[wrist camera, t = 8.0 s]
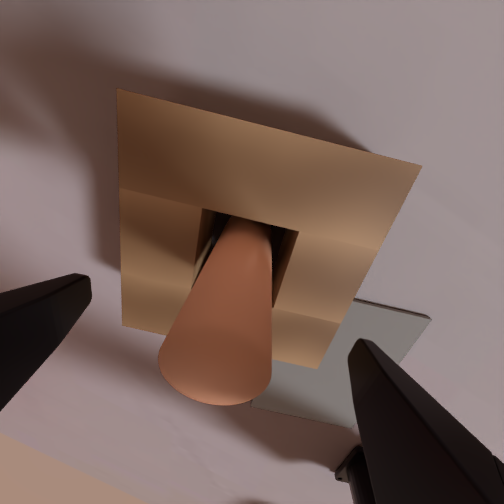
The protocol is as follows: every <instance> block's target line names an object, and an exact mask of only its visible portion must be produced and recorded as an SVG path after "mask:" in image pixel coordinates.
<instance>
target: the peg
mask: <svg viewBox="0 0 504 504" xmlns="http://www.w3.org/2000/svg"><path fill="white" fill-rule="evenodd" d="M158 364H159V368H160V370H161V373H162V375H163V376H164V378H165V379H166V380H167V382H168V383H169V384H170V385H171V386H172V387H173V388H175V389H176V390H177V391H179V392H180V393H182V394H183V395H185V396H187V397H189V398H191V399H194V400H196V401H199V402H203V403H207V404H213V405H235V404H240V403H244V402H247V401H250V400H252V399H254V398H256V397H257V396H259V395H260V394H261V393H262V392H263V391H264V390H265V389H266V388H267V386H268V384H269V383H270V380H271V375H272V231H271V226H270V224H267V223H263V222H258V221H254V220H250V219H246V218H242V217H238V216H234V215H233V216H232V217H231V218H230V219H229V220H228V222H227V224H226V226H225V228H224V230H223V231H222V233H221V235H220V237H219V239H218V241H217V243H216V245H215V246H214V248H213V250H212V252H211V254H210V256H209V258H208V260H207V261H206V263H205V265H204V267H203V269H202V271H201V273H200V275H199V276H198V278H197V280H196V282H195V284H194V286H193V288H192V290H191V291H190V293H189V295H188V297H187V299H186V301H185V303H184V305H183V306H182V308H181V310H180V312H179V314H178V316H177V318H176V320H175V321H174V323H173V325H172V327H171V329H170V331H169V333H168V335H167V336H166V338H165V340H164V342H163V344H162V346H161V348H160V350H159V355H158Z"/></svg>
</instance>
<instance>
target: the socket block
mask: <svg viewBox="0 0 504 504" xmlns="http://www.w3.org/2000/svg"><path fill="white" fill-rule="evenodd" d="M116 90H117V131H118V172H119V213H120V254H121V295H122V326H126V327H131V328H135V329H140V330H144V331H149V332H153V333H158V334H162V335H168V333H169V331H170V329H171V327H172V325H173V323H174V321H175V320H176V318H177V316H178V314H179V312H180V310H181V308H182V306H183V305H184V303H185V301H186V299H187V297H188V295H189V293H190V291H191V290H192V288H193V286H194V284H195V282H196V280H197V278H198V276H199V275H200V273H201V271H202V269H203V267H204V265H205V263H206V261H207V260H208V258H209V253H210V247H211V241H212V234H213V228H214V222H215V216H216V211H217V212H221V213H225V214H229V215H234V216H238V217H242V218H246V219H250V220H254V221H258V222H263V223H267V224H271V225H275V226H279V227H283V228H286V230H285V234H284V237H283V240H282V243H281V246H280V250H279V253H278V256H277V259H276V263H275V266H274V269H273V271H272V359H274V360H278V361H283V362H287V363H291V364H296V365H300V366H305V367H309V368H314V369H318V367H319V365H320V363H321V361H322V359H323V357H324V355H325V353H326V351H327V349H328V347H329V345H330V343H331V342H332V340H333V338H334V336H335V334H336V332H337V330H338V328H339V326H340V324H341V322H342V320H343V318H344V317H345V315H346V313H347V311H348V309H349V307H350V305H351V303H352V301H353V299H354V297H355V295H356V293H357V291H358V290H359V288H360V286H361V284H362V282H363V280H364V278H365V276H366V274H367V272H368V270H369V268H370V266H371V264H372V263H373V261H374V259H375V257H376V255H377V253H378V251H379V249H380V247H381V245H382V243H383V241H384V239H385V237H386V236H387V234H388V232H389V230H390V228H391V226H392V224H393V222H394V220H395V218H396V216H397V214H398V212H399V210H400V209H401V207H402V205H403V203H404V201H405V199H406V197H407V195H408V193H409V191H410V189H411V187H412V185H413V183H414V182H415V180H416V178H417V176H418V174H419V172H420V170H421V168H422V166H421V165H417V164H413V163H409V162H405V161H401V160H397V159H393V158H390V157H386V156H382V155H378V154H374V153H370V152H366V151H362V150H358V149H354V148H350V147H346V146H342V145H338V144H335V143H331V142H327V141H323V140H319V139H315V138H311V137H307V136H303V135H299V134H295V133H291V132H287V131H284V130H280V129H276V128H272V127H268V126H264V125H260V124H256V123H252V122H248V121H244V120H240V119H236V118H232V117H229V116H225V115H221V114H217V113H213V112H209V111H205V110H201V109H197V108H193V107H189V106H185V105H181V104H177V103H174V102H170V101H166V100H162V99H158V98H154V97H150V96H146V95H142V94H138V93H134V92H130V91H126V90H122V89H119V88H116Z"/></svg>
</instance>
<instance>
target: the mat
mask: <svg viewBox="0 0 504 504" xmlns="http://www.w3.org/2000/svg"><path fill="white" fill-rule="evenodd" d="M431 320H432V319H431V318H430V317H427V316H423V315H419V314H415V313H410V312H406V311H402V310H398V309H393V308H389V307H385V306H381V305H376V304H372V303H368V302H364V301H359V300H355V299H353V301H352V303H351V305H350V307H349V309H348V311H347V313H346V315H345V317H344V318H343V320H342V322H341V324H340V326H339V328H338V330H337V332H336V334H335V336H334V338H333V340H332V342H331V343H330V345H329V347H328V349H327V351H326V353H325V355H324V357H323V359H322V361H321V363H320V365H319V367H318V369H314V368H309V367H305V366H300V365H296V364H291V363H287V362H283V361H278V360H274V359H272V375H271V380H270V383H269V384H268V386H267V388H266V389H265V390H264V391H263V392H262V393H261V394H260V395H259V396H257V397H256V398H254V399H252V402H251V407H254V408H259V409H264V410H268V411H273V412H277V413H282V414H287V415H291V416H296V417H300V418H305V419H310V420H314V421H319V422H323V423H328V424H333V425H337V426H342V427H347V428H351V429H352V427H353V426H354V425H355V423H356V422H357V420H356V415H355V411H354V405H353V399H352V391H351V384H350V377H349V369H348V361H347V360H348V354H349V352H350V351H351V349H352V347H353V346H354V344H355V342H356V341H357V339H359V338H363V339H368V340H371V341H373V342H374V343H375V344H376V345H377V346H378V347H379V348H380V349H381V350H383V351H384V352H385V353H386V354H387V355H388V356H389V357H390V358H391V359H392V360H393V361H394V362H395V363H396V364H398V365H399V364H400V362H401V361H402V360H403V358H404V357H405V356H406V354H407V353H408V351H409V350H410V349H411V347H412V346H413V345H414V343H415V342H416V341H417V339H418V338H419V337H420V335H421V334H422V332H423V331H424V330H425V328H426V327H427V326H428V324H429V323H430V322H431Z"/></svg>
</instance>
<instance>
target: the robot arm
mask: <svg viewBox="0 0 504 504" xmlns="http://www.w3.org/2000/svg"><path fill="white" fill-rule="evenodd" d="M91 299H92V291H91V280H90V278H89V276H87V275H83V274H78V273H73V274H69V275H66V276H62V277H58V278H54V279H51V280H47V281H43V282H40V283H36V284H32V285H29V286H25V287H21V288H18V289H14V290H10V291H7V292H3V293H0V411H1V410H2V409H3V408H4V407H5V406H6V404H7V403H8V402H9V401H10V400H11V399H12V398H13V397H14V395H15V394H16V393H17V392H18V391H19V390H20V389H21V388H22V386H23V385H24V384H25V383H26V382H27V381H28V380H29V378H30V377H31V376H32V375H33V374H34V373H35V372H36V371H37V369H38V368H39V367H40V366H41V365H42V364H43V363H44V362H45V360H46V359H47V358H48V357H49V356H50V355H51V354H52V353H53V351H54V350H55V349H56V348H57V347H58V346H59V344H60V343H61V342H62V340H63V339H64V338H65V337H66V335H67V334H68V332H69V331H70V330H71V328H72V327H73V326H74V324H75V323H76V321H77V320H78V319H79V317H80V316H81V315H82V313H83V312H84V310H85V309H86V308H87V306H88V305H89V304H90V302H91ZM347 361H348V369H349V377H350V384H351V391H352V399H353V405H354V411H355V415H356V420H357V424H358V428H359V433H360V437H361V441H362V445H363V447H356V448H355V449H354V450H353V451H352V453H351V454H350V455H349V456H348V458H347V459H346V460H345V461H344V463H343V464H342V465H341V466H340V468H339V469H338V470H337V471H336V472H335V479H336V480H337V481H342V482H347V483H349V485H350V490H351V494H352V499H353V503H354V504H504V463H502V462H501V461H500V460H499V459H498V458H497V457H496V456H494V455H492V453H491V451H490V450H489V449H487V448H486V447H485V446H484V445H483V444H482V443H481V442H480V441H479V440H478V439H477V438H476V437H475V436H474V435H472V434H471V433H470V432H469V431H468V430H467V429H466V428H465V427H464V426H463V425H462V424H461V423H460V422H459V421H457V420H456V419H455V418H454V417H453V416H452V415H451V414H450V413H449V412H448V411H447V410H446V409H445V408H444V407H442V406H441V405H440V404H439V403H438V402H437V401H436V400H435V399H434V398H433V397H432V396H431V395H430V394H429V393H428V392H426V391H425V390H424V389H423V388H422V387H421V386H420V385H419V384H418V383H417V382H416V381H415V380H414V379H413V378H411V377H410V376H409V375H408V374H407V373H406V372H405V371H404V370H403V369H402V368H401V367H400V366H399V365H398V364H396V363H395V362H394V361H393V360H392V359H391V358H390V357H389V356H388V355H387V354H386V353H385V352H384V351H383V350H381V349H380V348H379V347H378V346H377V345H376V344H375V343H374V342H373V341H371V340H368V339H363V338H359V339H357V341H356V342H355V344H354V346H353V347H352V349H351V351H350V352H349V354H348V360H347Z"/></svg>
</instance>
